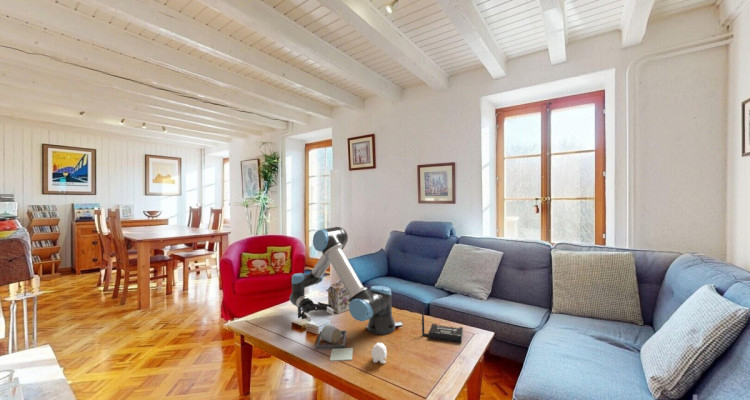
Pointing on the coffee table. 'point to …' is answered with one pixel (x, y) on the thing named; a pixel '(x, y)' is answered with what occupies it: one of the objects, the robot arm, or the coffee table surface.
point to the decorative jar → (338, 297)
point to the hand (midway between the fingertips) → (321, 315)
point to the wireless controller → (443, 332)
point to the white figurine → (379, 353)
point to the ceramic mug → (331, 334)
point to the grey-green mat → (341, 354)
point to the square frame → (331, 345)
